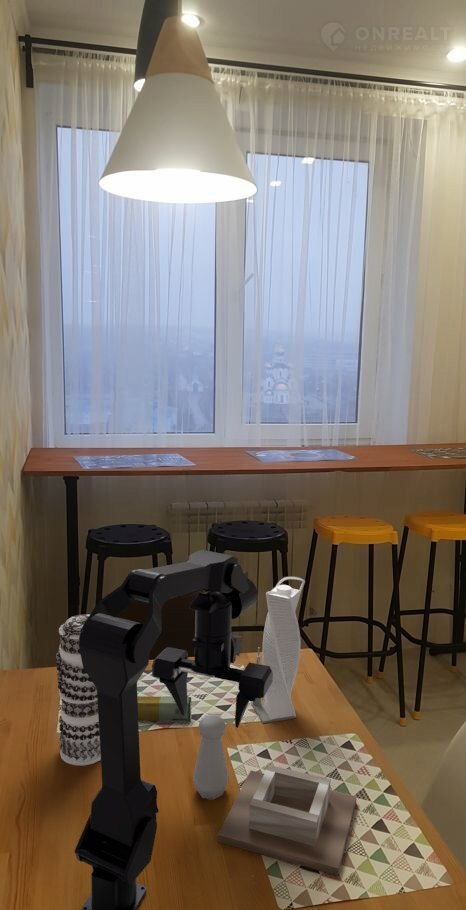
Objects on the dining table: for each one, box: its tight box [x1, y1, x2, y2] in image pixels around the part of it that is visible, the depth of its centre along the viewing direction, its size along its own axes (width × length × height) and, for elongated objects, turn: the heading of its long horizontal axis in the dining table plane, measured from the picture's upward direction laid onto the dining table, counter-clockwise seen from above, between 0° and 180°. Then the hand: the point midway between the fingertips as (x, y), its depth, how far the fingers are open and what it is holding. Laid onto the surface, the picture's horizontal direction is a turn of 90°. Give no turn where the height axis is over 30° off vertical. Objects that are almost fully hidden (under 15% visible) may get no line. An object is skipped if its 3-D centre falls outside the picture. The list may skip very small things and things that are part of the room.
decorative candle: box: [55, 613, 101, 767], centre depth 119 cm, size 9×9×25 cm
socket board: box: [217, 764, 357, 877], centre depth 105 cm, size 16×18×5 cm
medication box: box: [137, 695, 192, 723], centre depth 132 cm, size 12×3×4 cm, turn 90°
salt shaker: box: [192, 714, 229, 801], centre depth 110 cm, size 6×6×13 cm
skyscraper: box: [250, 576, 306, 724], centre depth 133 cm, size 8×8×28 cm
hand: (210, 720), depth 109 cm, fingers open, 9 cm apart
